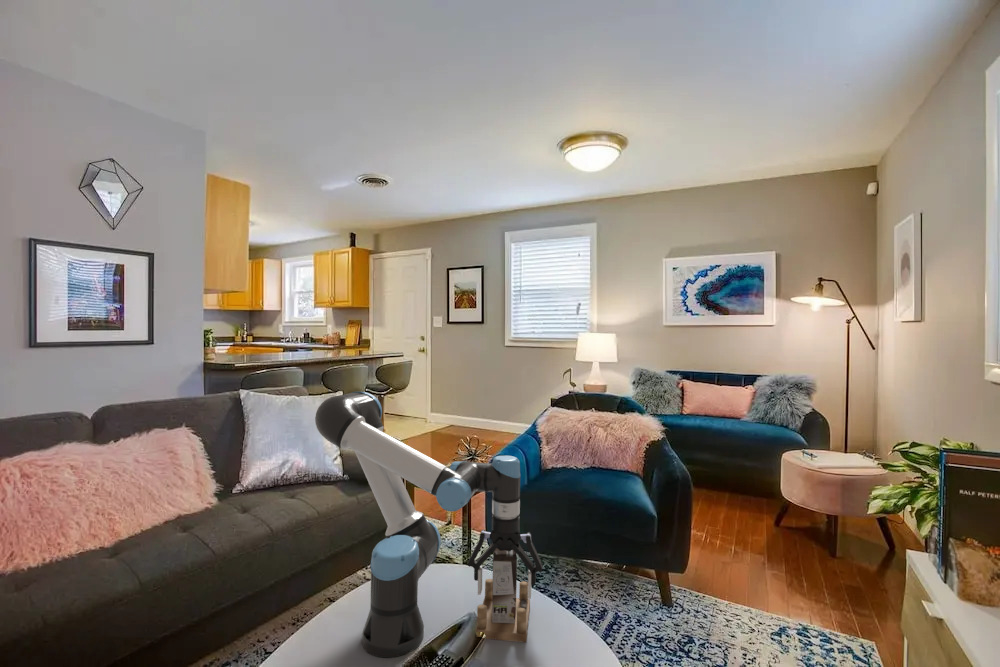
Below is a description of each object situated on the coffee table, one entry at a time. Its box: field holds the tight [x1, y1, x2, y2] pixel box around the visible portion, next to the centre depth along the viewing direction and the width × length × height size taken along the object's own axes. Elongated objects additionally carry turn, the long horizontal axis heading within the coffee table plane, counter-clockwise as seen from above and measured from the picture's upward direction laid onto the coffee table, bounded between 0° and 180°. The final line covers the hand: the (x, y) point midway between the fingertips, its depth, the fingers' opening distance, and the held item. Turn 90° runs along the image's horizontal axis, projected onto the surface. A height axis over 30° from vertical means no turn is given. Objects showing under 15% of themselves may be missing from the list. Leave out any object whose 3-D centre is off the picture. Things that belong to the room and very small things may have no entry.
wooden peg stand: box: [474, 578, 531, 643], centre depth 124 cm, size 13×16×7 cm
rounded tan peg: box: [518, 581, 528, 605], centre depth 129 cm, size 5×2×5 cm, turn 177°
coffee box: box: [492, 548, 518, 624], centre depth 124 cm, size 9×6×16 cm
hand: (504, 594), depth 124 cm, fingers open, 13 cm apart
